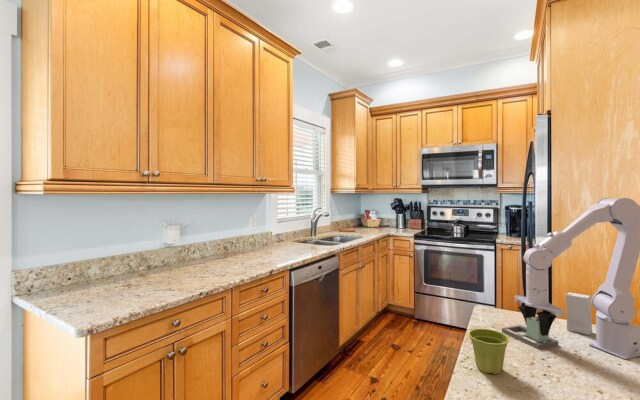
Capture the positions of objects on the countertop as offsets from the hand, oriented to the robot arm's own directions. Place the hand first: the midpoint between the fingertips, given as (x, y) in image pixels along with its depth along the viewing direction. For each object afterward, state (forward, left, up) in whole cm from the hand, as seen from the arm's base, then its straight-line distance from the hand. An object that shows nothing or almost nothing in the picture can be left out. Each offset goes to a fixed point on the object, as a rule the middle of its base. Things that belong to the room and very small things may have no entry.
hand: (537, 332), depth 100 cm
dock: (+3, 0, -3) cm, 4 cm away
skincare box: (+2, -20, -3) cm, 20 cm away
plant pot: (-7, +26, -3) cm, 27 cm away
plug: (0, 0, -2) cm, 2 cm away
